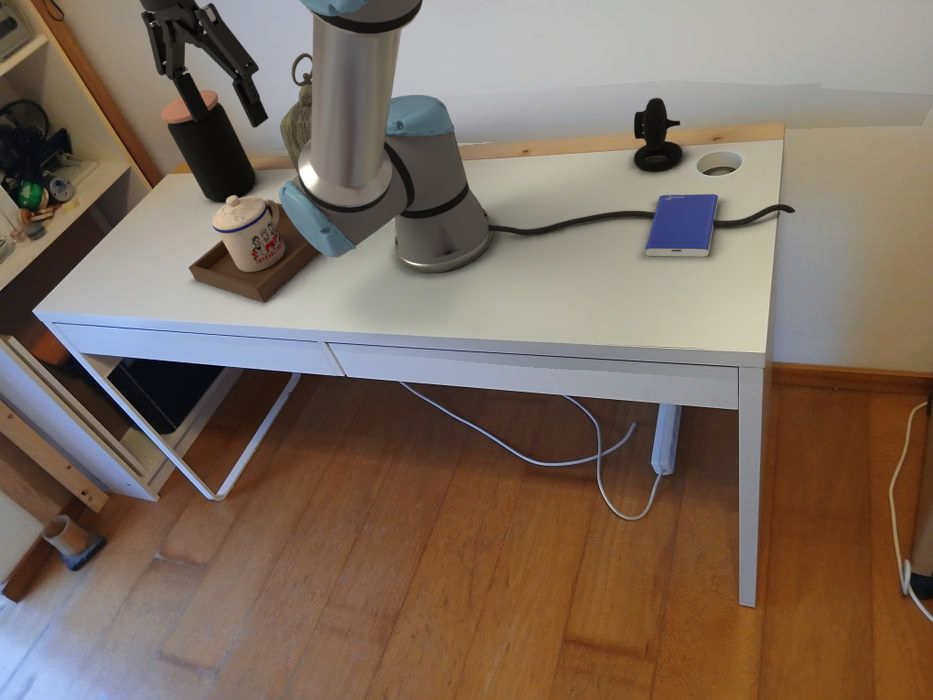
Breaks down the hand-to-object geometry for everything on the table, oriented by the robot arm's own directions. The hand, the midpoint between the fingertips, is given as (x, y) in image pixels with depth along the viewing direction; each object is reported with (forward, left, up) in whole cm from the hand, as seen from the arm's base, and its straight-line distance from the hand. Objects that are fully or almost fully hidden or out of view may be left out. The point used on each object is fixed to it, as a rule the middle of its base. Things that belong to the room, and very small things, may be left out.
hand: (230, 120), depth 113 cm
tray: (+2, +3, -24) cm, 24 cm away
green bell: (+1, -17, -24) cm, 29 cm away
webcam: (-49, -38, -24) cm, 66 cm away
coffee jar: (+28, -11, -24) cm, 39 cm away
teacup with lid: (+3, +3, -23) cm, 23 cm away
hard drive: (-60, -22, -24) cm, 68 cm away
